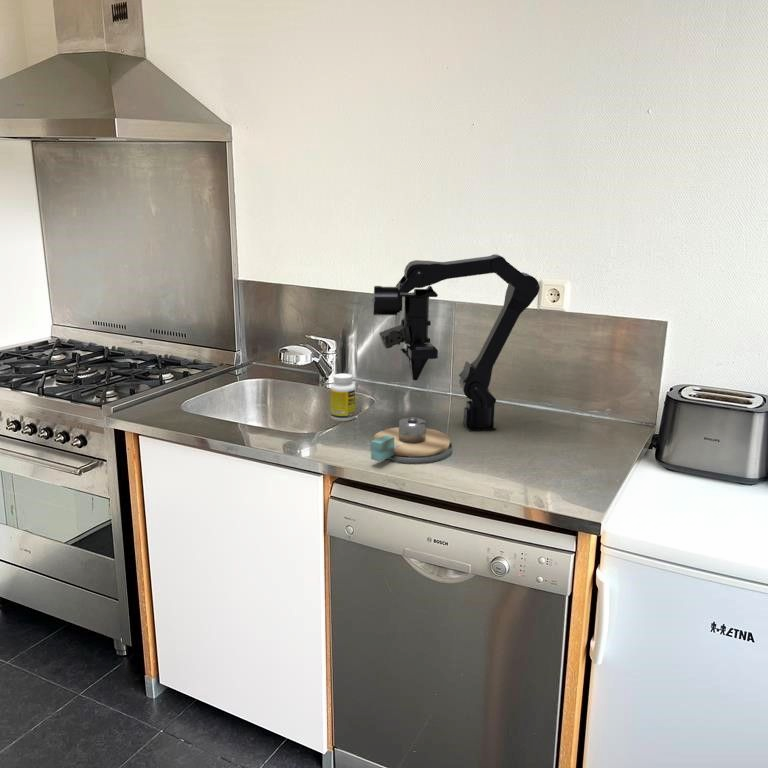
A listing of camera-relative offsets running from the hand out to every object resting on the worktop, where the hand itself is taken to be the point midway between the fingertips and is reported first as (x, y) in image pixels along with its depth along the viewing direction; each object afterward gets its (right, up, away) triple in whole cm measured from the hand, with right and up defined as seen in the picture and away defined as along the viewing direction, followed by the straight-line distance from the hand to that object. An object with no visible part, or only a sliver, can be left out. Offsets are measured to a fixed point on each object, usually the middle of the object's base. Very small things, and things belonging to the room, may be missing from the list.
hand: (414, 379), depth 183 cm
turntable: (-3, -15, -14) cm, 21 cm away
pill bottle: (-18, -10, +10) cm, 23 cm away
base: (-1, -16, -12) cm, 20 cm away
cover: (-1, -13, -13) cm, 18 cm away
